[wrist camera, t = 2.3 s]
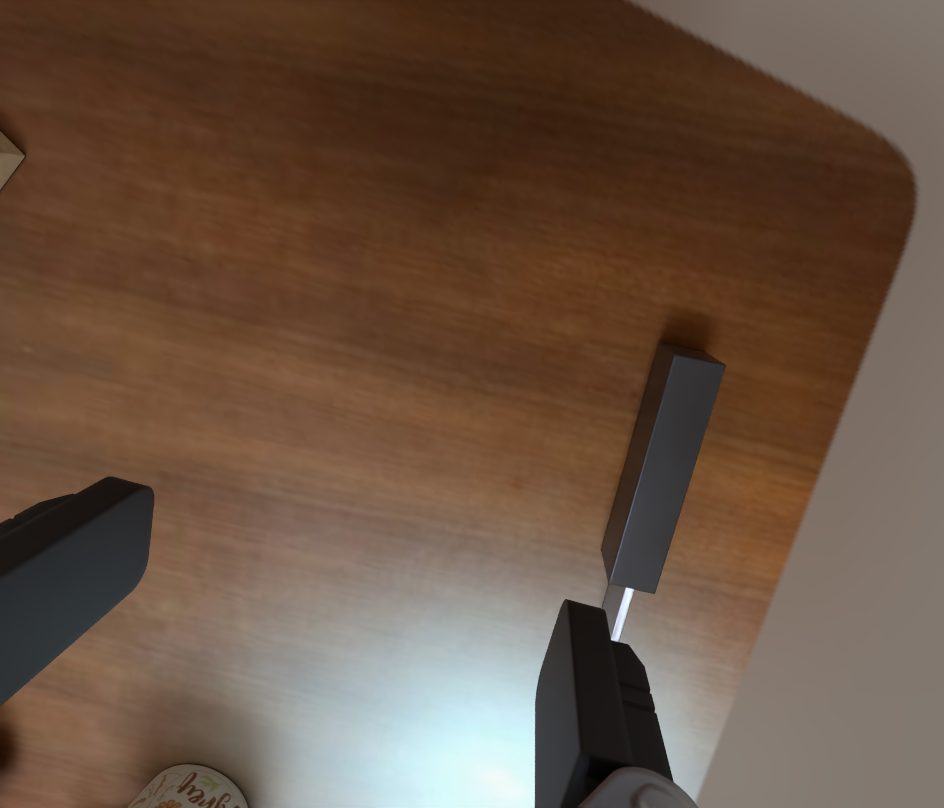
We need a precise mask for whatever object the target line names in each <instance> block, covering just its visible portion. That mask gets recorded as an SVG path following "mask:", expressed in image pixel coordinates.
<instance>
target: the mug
mask: <svg viewBox="0 0 944 808" xmlns="http://www.w3.org/2000/svg"><path fill="white" fill-rule="evenodd" d="M127 808H248V806H247V803H246V800H245V798H244V796H243V795H242V793H241V792H240V790H239V789H238V788H237V786H236V785H235V784H234V783H233V782H232V781H230V780H229V779H228V778H227V777H225V776H224V775H222V774H220V773H219V772H217V771H215V770H212V769H210V768H207V767H204V766H199V765H190V764H185V765H177V766H173V767H170V768H168V769H166V770H164V771H162V772H161V773H160V774H158V775H157V776H156V777H155V778H154V779H153V780H152V781H151V782H150V783H149V784H148V785H147V786H146V787H145V788H144V790H143V791H142V792H141V793H140V794H139V795H138V796H137V797H136V798H135V799H134V801H133V802H132V803H131V804H130V805H129V806H128V807H127Z"/></svg>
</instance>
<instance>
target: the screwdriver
mask: <svg viewBox="0 0 944 808" xmlns="http://www.w3.org/2000/svg"><path fill="white" fill-rule="evenodd" d="M725 367H726V365H725V364H723V363H722V362H720V361H719V360H717V359H715V358H714V357H712V356H711V355H709V354H708V353H706V352H704V351H700V350H695V349H690V348H686V347H681V346H676V345H671V344H666V343H661V342H660V343H659V344H658V347H657V350H656V354H655V358H654V361H653V365H652V368H651V372H650V376H649V379H648V383H647V386H646V390H645V394H644V397H643V401H642V404H641V408H640V411H639V415H638V419H637V422H636V426H635V429H634V433H633V437H632V440H631V444H630V447H629V451H628V455H627V458H626V462H625V465H624V469H623V472H622V476H621V480H620V483H619V487H618V490H617V494H616V498H615V501H614V505H613V508H612V512H611V516H610V519H609V523H608V526H607V530H606V533H605V537H604V541H603V544H602V548H601V552H602V556H603V561H604V565H605V570H606V575H607V579H608V583H609V586H608V589H607V593H606V596H605V600H604V603H603V607H602V609H604V610H605V611H606V615H607V620H608V626H609V631H610V637H611V640H613V641H617V642H619V640H620V637H621V633H622V630H623V627H624V623H625V620H626V617H627V613H628V610H629V607H630V603H631V600H632V597H633V593H634V590H639V591H643V592H648V593H652V594H655V592H656V588H657V585H658V582H659V579H660V576H661V572H662V569H663V566H664V563H665V560H666V556H667V553H668V550H669V547H670V544H671V540H672V537H673V534H674V531H675V527H676V524H677V521H678V518H679V515H680V511H681V508H682V505H683V502H684V499H685V495H686V492H687V489H688V486H689V483H690V479H691V476H692V473H693V470H694V466H695V463H696V460H697V457H698V454H699V450H700V447H701V444H702V441H703V438H704V434H705V431H706V428H707V425H708V422H709V418H710V415H711V412H712V409H713V405H714V402H715V399H716V396H717V393H718V389H719V386H720V383H721V380H722V377H723V373H724V370H725Z"/></svg>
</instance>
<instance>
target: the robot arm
mask: <svg viewBox="0 0 944 808" xmlns="http://www.w3.org/2000/svg"><path fill="white" fill-rule="evenodd" d="M153 508H154V492H153V490H152V488H151V487H149V486H145V485H142V484H138V483H134V482H131V481H127V480H123V479H119V478H116V477H106V478H104V479H102V480H100V481H99V482H97V483H95V484H93V485H91V486H90V487H88V488H86V489H84V490H82V491H81V492H79V493H77V494H69V495H65V496H62V497H58V498H54V499H50V500H47V501H43V502H40V503H38V504H36V505H34V506H32V507H30V508H28V509H26V510H25V511H23V512H21V513H19V514H17V515H15V517H14V519H11V518H10V519H8V520H6V521H4V522H2V523H0V706H1V705H2V704H4V703H5V702H6V701H7V700H8V699H9V698H10V697H12V696H13V695H14V694H15V693H16V692H17V691H18V690H20V689H21V688H22V687H23V686H24V685H25V684H26V683H28V682H29V681H30V680H31V679H32V678H33V677H34V676H36V675H37V674H38V673H39V672H40V671H41V670H42V669H44V668H45V667H46V666H47V665H48V664H49V663H51V662H52V661H53V660H54V659H55V658H56V657H57V656H59V655H60V654H61V653H62V652H63V651H64V650H65V649H67V648H68V647H69V646H70V645H71V644H72V643H73V642H75V641H76V640H77V639H78V638H79V637H80V636H81V635H83V634H84V633H85V632H86V631H87V630H88V629H89V628H91V627H92V626H93V625H94V624H95V623H96V622H97V621H99V620H100V619H101V618H102V617H103V616H104V615H106V614H107V613H108V612H109V611H110V610H111V609H112V608H114V607H115V606H116V605H117V604H118V603H119V602H120V601H122V600H123V599H124V598H125V597H126V596H127V595H128V594H130V593H131V592H132V591H133V590H134V588H135V587H136V586H137V585H138V583H139V582H140V580H141V578H142V576H143V574H144V572H145V569H146V566H147V563H148V557H149V547H150V538H151V528H152V518H153ZM654 711H655V706H654V702H653V698H652V694H650V686H649V682H648V678H647V674H646V671H645V667H644V665H643V664H642V663H641V661H640V660H639V659H638V657H637V656H636V654H635V653H634V652H633V650H632V649H631V647H630V646H629V645H628V644H624V643H620V642H617V641H613V640H611V637H610V631H609V626H608V620H607V615H606V611H605V610H604V609H601V608H597V607H593V606H590V605H586V604H582V603H579V602H575V601H571V600H567V599H565V600H564V602H563V604H562V606H561V608H560V611H559V614H558V617H557V621H556V624H555V627H554V630H553V633H552V636H551V639H550V642H549V645H548V649H547V652H546V655H545V658H544V661H543V664H542V667H541V671H540V675H539V680H538V685H537V691H536V701H535V808H698V807H697V805H696V804H695V803H694V801H693V800H692V799H691V798H690V797H689V796H688V795H687V793H686V792H685V791H683V790H682V789H681V788H680V787H679V786H678V785H676V784H675V783H674V782H673V778H672V774H671V770H670V766H669V762H668V758H667V754H666V750H665V746H664V742H663V738H662V734H661V730H660V726H659V722H658V718H657V714H656V713H654Z"/></svg>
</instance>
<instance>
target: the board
mask: <svg viewBox="0 0 944 808" xmlns="http://www.w3.org/2000/svg"><path fill="white" fill-rule="evenodd" d="M24 157H25V155H24V154H23V153H22V152H21V151H20V150H19V149H18V148H17V147H16V146H15V145H14V144H13V143H12V142H11V141H10V140H9V139H8V138H7V137H6V136H5V135H4V134H3V133H2V132H1V131H0V190H1V188H2V187H3V186H4V184H5V183H6V182H7V180H8V179H9V178H10V176H11V175H12V173H13V172H14V171H15V169H16V168H17V167H18V165H19V164H20V163H21V161H22V160H23V159H24Z"/></svg>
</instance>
